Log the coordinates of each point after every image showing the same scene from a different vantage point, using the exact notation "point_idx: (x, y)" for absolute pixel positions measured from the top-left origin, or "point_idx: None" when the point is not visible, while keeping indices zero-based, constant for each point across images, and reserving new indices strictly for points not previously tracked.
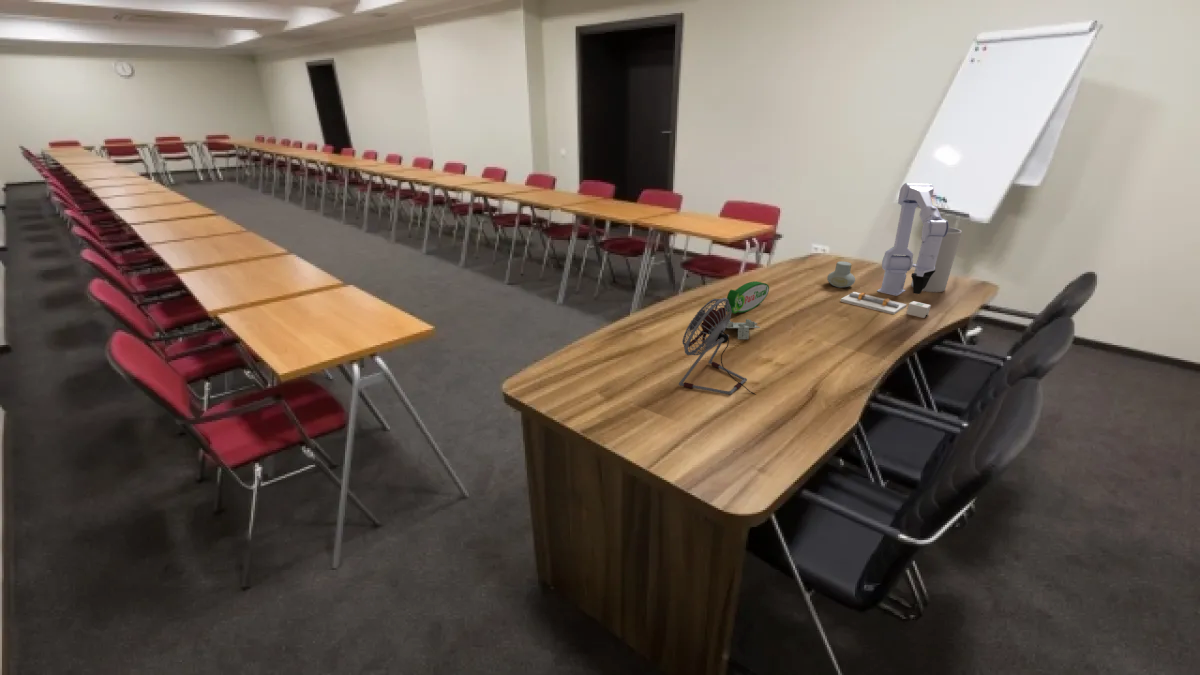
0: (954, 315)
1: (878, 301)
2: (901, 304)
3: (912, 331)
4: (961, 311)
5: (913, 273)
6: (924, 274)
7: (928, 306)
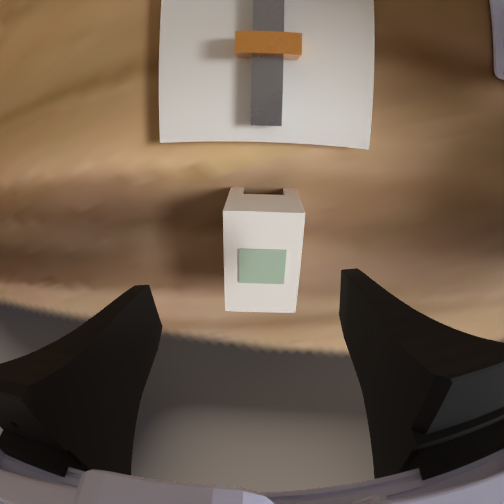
0: None
1: (253, 5)
2: (345, 125)
3: (57, 275)
4: None
5: (11, 406)
6: (388, 404)
7: (259, 309)
